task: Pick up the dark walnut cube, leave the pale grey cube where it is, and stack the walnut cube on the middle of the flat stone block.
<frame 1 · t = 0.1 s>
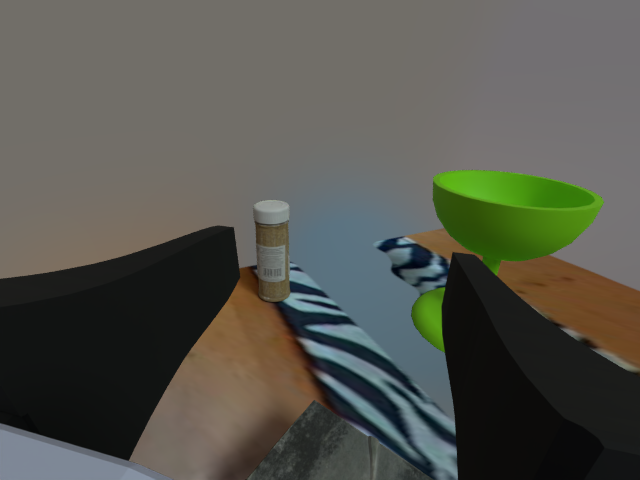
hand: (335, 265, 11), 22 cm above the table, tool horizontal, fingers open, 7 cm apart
wineglass: (474, 324, 44), on the table
sprinkles bottle: (274, 295, 49), on the table
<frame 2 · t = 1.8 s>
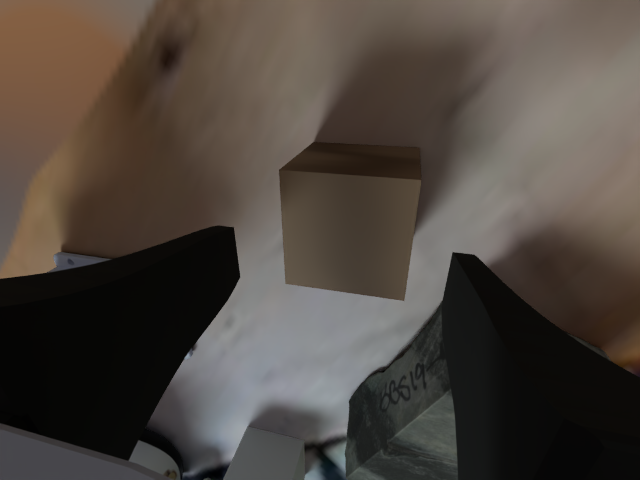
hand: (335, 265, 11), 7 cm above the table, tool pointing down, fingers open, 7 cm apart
stone block: (448, 379, 22), on the table
walnut cube: (361, 194, 17), on the table
grey cube: (277, 450, 30), on the table
spread jar: (171, 455, 35), on the table
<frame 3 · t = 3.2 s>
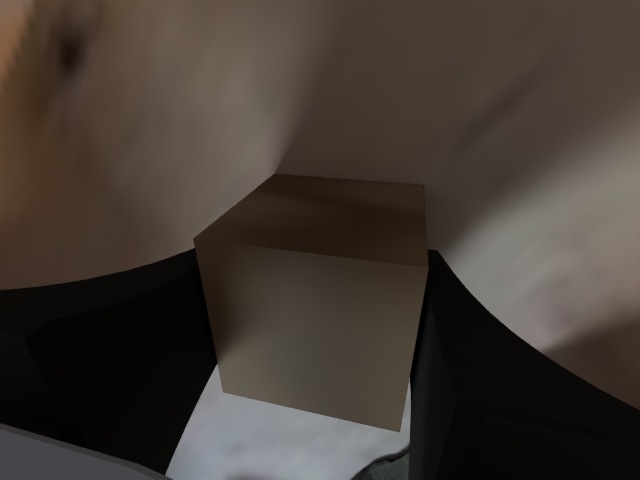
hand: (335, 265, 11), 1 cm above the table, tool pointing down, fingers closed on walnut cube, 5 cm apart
stone block: (475, 472, 17), on the table
walnut cube: (342, 245, 12), on the table, touching gripper
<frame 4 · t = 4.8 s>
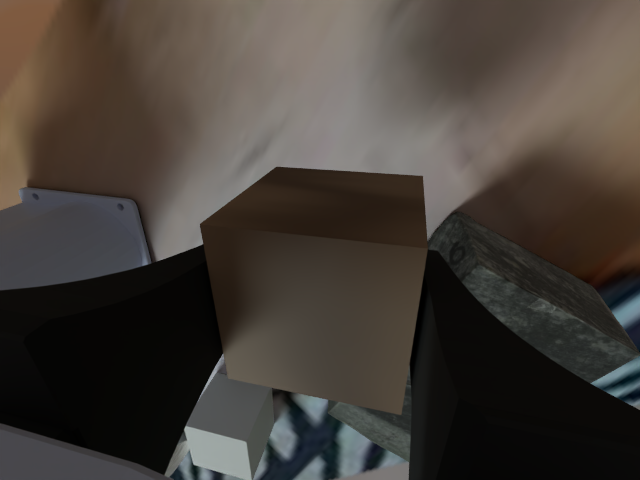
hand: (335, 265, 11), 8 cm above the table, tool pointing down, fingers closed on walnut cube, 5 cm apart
stone block: (435, 320, 22), on the table
walnut cube: (344, 237, 13), point 7 cm above the table, touching gripper
grey cube: (246, 397, 30), on the table
spread jar: (144, 410, 35), on the table
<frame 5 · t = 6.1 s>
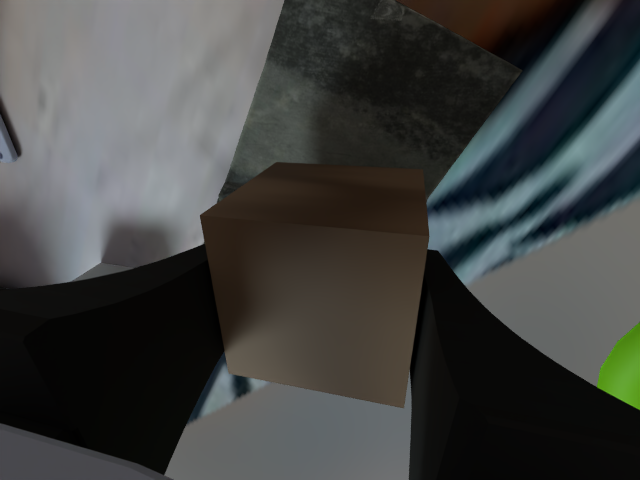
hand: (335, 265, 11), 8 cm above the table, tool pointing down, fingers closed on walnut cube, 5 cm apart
stone block: (328, 158, 18), on the table
walnut cube: (344, 232, 13), point 6 cm above the table, touching gripper
grey cube: (138, 293, 26), on the table
when the fingers open (8 cm above the table, at t = 6.8 s): walnut cube drops 1 cm, point 5 cm above the table.
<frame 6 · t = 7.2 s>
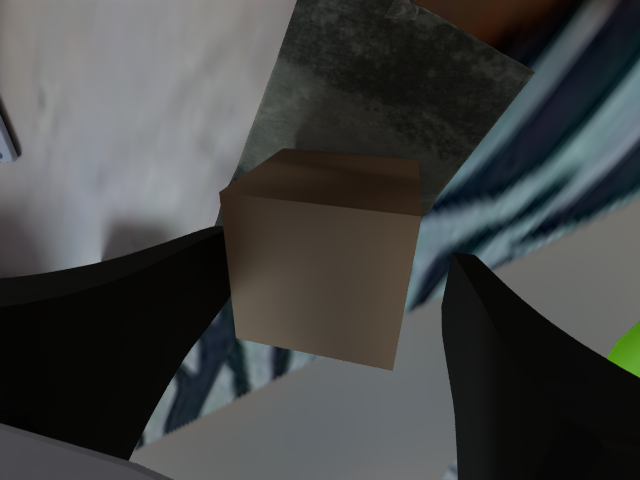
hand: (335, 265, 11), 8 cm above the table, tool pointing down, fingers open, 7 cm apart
stone block: (335, 156, 18), on the table
walnut cube: (344, 216, 14), point 5 cm above the table
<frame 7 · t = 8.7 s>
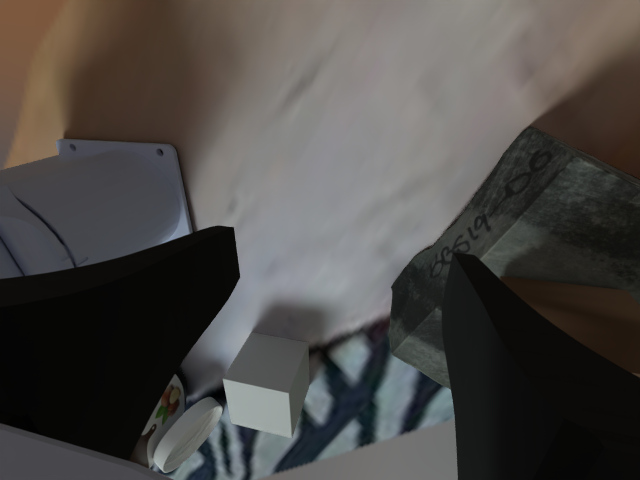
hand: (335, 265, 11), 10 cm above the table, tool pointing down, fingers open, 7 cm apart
stone block: (499, 256, 21), on the table, touching walnut cube
walnut cube: (544, 325, 16), point 5 cm above the table, touching stone block
grey cube: (281, 358, 29), on the table
spread jar: (175, 378, 35), on the table
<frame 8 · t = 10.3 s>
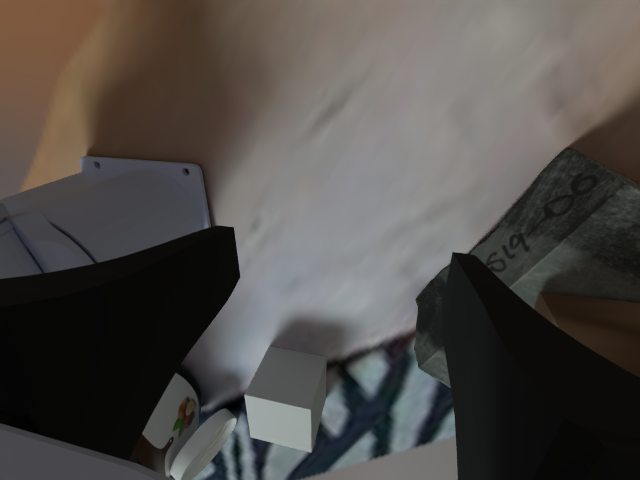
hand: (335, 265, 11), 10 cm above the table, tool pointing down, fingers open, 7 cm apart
stone block: (526, 272, 21), on the table, touching walnut cube
walnut cube: (583, 340, 16), point 5 cm above the table, touching stone block
grey cube: (298, 371, 30), on the table
spread jar: (189, 389, 35), on the table
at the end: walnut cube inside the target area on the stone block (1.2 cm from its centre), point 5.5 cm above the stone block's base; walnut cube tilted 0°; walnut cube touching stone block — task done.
